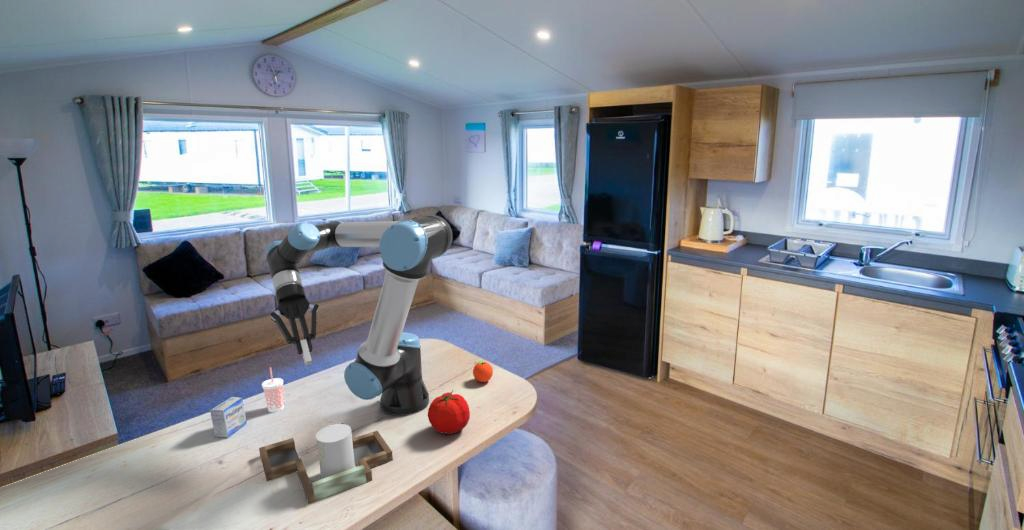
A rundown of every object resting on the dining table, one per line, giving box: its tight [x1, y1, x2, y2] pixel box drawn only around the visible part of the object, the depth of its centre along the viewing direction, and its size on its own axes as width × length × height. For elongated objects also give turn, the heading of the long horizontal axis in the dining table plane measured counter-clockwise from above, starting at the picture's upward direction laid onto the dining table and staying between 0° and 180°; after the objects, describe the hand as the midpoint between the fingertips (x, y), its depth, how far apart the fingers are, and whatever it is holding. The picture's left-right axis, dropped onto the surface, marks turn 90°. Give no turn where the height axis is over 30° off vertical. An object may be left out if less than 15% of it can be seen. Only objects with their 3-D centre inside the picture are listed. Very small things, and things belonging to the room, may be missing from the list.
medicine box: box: [209, 396, 247, 438], centre depth 148 cm, size 8×4×9 cm, turn 168°
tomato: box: [427, 390, 471, 435], centre depth 145 cm, size 12×12×11 cm
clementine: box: [472, 360, 494, 383], centre depth 175 cm, size 8×7×7 cm
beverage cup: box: [261, 366, 285, 413], centre depth 159 cm, size 6×6×14 cm
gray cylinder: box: [315, 423, 356, 479], centre depth 126 cm, size 8×8×12 cm
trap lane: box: [258, 422, 394, 504], centre depth 132 cm, size 29×26×4 cm
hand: (308, 363), depth 137 cm, fingers closed
